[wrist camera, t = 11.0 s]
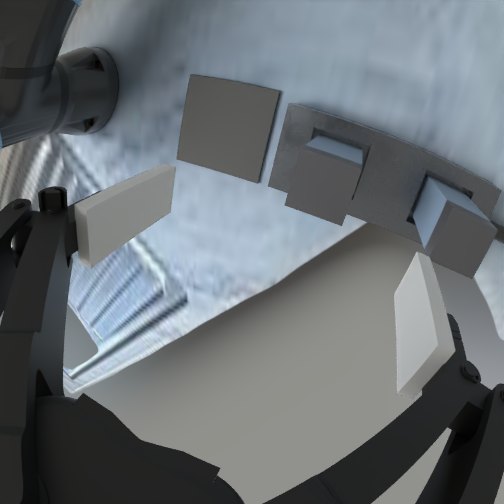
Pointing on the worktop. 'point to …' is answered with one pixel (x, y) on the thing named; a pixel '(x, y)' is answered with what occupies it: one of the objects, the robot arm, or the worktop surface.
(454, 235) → the twin plug
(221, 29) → the worktop surface
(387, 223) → the strip
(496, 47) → the worktop surface
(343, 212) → the plug
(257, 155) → the mat
